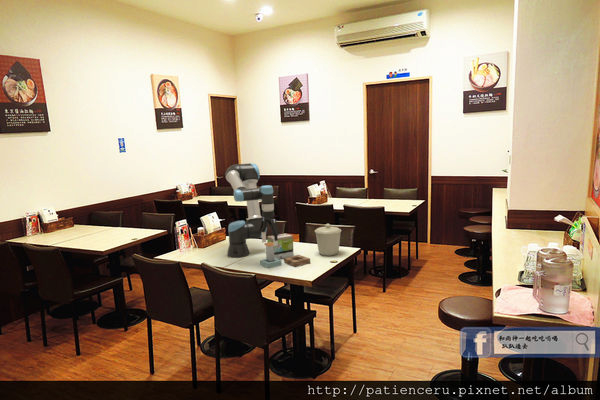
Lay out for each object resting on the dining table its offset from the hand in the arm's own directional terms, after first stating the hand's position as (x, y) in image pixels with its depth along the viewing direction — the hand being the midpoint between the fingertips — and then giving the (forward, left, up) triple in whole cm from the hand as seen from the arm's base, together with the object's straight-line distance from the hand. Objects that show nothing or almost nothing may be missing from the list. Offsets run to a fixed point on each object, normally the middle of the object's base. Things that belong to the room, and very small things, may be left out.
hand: (269, 243), depth 252 cm
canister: (+6, +43, -14) cm, 46 cm away
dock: (+8, +15, -14) cm, 22 cm away
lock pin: (0, 0, -14) cm, 14 cm away
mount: (0, 0, -14) cm, 14 cm away
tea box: (-11, +15, -14) cm, 24 cm away
